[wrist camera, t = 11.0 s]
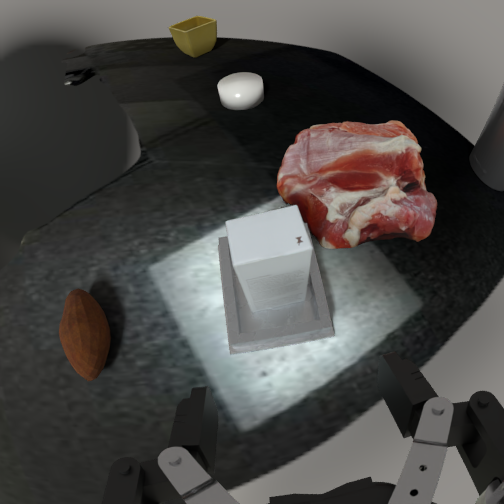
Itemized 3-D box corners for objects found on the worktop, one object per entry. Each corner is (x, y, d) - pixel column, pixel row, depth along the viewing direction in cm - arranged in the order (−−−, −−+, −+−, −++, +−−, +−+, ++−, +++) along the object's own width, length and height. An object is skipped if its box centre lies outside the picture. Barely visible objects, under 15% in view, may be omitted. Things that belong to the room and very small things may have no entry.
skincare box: (295, 266, 35) (299, 202, 24) (305, 301, 33) (315, 249, 22) (242, 278, 34) (223, 219, 24) (250, 314, 32) (232, 268, 22)
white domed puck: (260, 84, 53) (258, 69, 50) (267, 106, 50) (266, 90, 46) (219, 91, 54) (216, 76, 50) (222, 114, 50) (219, 98, 47)
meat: (293, 279, 35) (295, 234, 26) (266, 149, 45) (261, 95, 36) (447, 252, 34) (483, 208, 25) (392, 137, 44) (405, 89, 35)
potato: (109, 289, 36) (82, 268, 31) (128, 376, 31) (98, 368, 25) (74, 304, 36) (45, 286, 30) (88, 387, 30) (55, 381, 25)
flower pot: (223, 49, 63) (217, 19, 55) (193, 63, 61) (185, 31, 53) (203, 43, 67) (197, 15, 59) (175, 55, 65) (167, 27, 57)
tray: (308, 232, 37) (309, 218, 34) (333, 336, 31) (338, 330, 28) (218, 247, 37) (213, 234, 35) (231, 354, 31) (225, 350, 29)
